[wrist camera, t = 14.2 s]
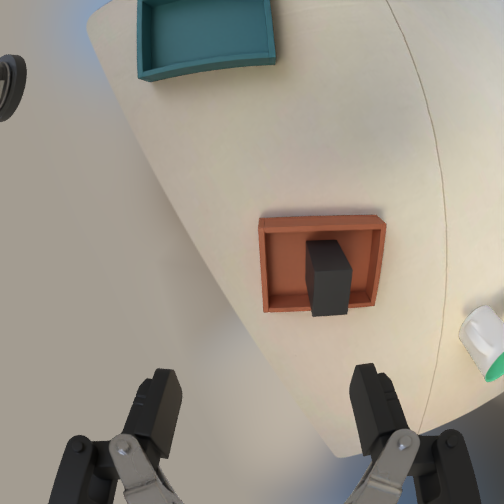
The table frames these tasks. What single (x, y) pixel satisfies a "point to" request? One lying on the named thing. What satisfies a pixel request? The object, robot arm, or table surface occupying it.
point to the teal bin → (202, 36)
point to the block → (327, 278)
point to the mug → (485, 341)
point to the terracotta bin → (294, 252)
